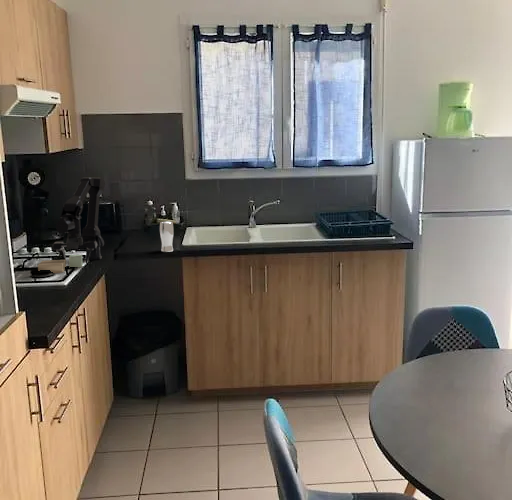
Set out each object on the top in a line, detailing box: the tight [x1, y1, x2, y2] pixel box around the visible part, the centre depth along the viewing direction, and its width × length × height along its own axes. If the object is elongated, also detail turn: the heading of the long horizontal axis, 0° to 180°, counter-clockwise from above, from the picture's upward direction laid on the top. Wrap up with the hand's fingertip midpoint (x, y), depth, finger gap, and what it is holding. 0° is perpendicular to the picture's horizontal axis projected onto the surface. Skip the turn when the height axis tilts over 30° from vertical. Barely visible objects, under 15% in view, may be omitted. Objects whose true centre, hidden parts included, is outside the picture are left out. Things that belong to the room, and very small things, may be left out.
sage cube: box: [68, 254, 83, 268], centre depth 262 cm, size 5×5×5 cm
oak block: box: [37, 259, 67, 274], centre depth 254 cm, size 10×10×4 cm
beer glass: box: [159, 221, 174, 253], centre depth 298 cm, size 7×7×15 cm
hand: (76, 263), depth 262 cm, fingers open, 9 cm apart
